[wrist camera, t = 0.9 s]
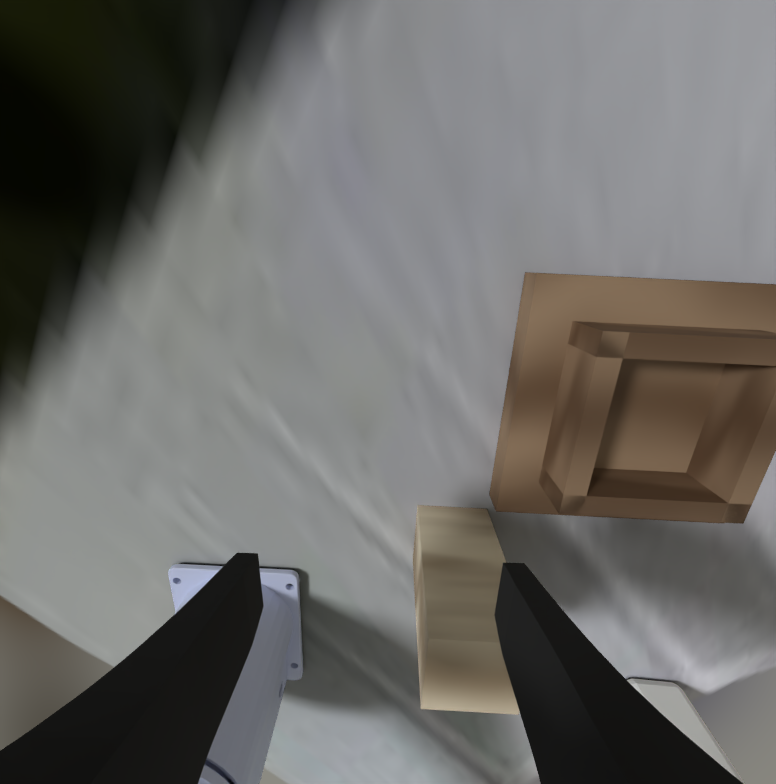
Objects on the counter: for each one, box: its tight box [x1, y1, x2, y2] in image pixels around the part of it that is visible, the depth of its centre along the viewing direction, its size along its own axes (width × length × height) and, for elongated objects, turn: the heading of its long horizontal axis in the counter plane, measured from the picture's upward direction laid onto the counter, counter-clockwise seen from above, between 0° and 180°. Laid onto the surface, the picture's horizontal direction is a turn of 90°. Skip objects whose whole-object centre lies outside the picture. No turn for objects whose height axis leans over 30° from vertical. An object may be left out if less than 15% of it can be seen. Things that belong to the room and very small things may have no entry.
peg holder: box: [489, 272, 776, 523], centre depth 17 cm, size 12×12×4 cm
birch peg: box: [413, 505, 519, 715], centre depth 18 cm, size 4×4×8 cm
